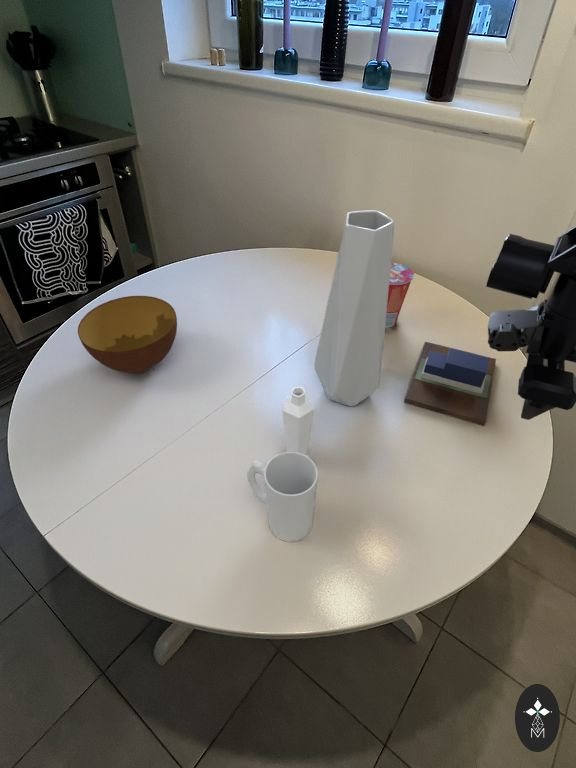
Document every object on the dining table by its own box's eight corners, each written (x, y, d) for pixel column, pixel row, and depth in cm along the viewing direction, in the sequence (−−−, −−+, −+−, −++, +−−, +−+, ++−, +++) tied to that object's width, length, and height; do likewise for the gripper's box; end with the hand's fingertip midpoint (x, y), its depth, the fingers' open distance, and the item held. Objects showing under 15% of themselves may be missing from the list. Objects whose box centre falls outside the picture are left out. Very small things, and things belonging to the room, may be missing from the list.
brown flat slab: (494, 363, 90) (496, 358, 89) (484, 426, 78) (486, 421, 77) (423, 345, 94) (425, 340, 93) (403, 402, 82) (405, 397, 81)
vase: (394, 401, 82) (434, 227, 60) (340, 423, 79) (360, 246, 56) (357, 362, 90) (380, 195, 68) (306, 380, 86) (312, 210, 64)
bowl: (81, 394, 84) (63, 352, 77) (107, 336, 97) (94, 295, 90) (176, 392, 84) (166, 351, 77) (190, 335, 97) (182, 295, 90)
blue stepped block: (484, 377, 85) (492, 357, 82) (481, 394, 82) (489, 374, 79) (425, 361, 88) (431, 342, 85) (420, 377, 85) (426, 358, 82)
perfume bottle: (316, 453, 74) (321, 387, 64) (302, 472, 71) (305, 406, 61) (292, 441, 76) (293, 375, 65) (278, 459, 73) (276, 394, 63)
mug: (322, 513, 66) (326, 463, 58) (301, 552, 62) (303, 504, 53) (262, 485, 69) (259, 435, 61) (239, 520, 65) (231, 471, 57)
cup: (380, 305, 105) (387, 258, 97) (411, 320, 101) (422, 272, 92) (355, 322, 100) (360, 274, 92) (386, 339, 96) (395, 290, 88)
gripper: (508, 260, 64) (477, 346, 75) (496, 333, 52) (460, 424, 63) (596, 276, 61) (550, 364, 72) (605, 359, 49) (547, 449, 59)
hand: (526, 396), depth 66 cm, fingers open, 9 cm apart
